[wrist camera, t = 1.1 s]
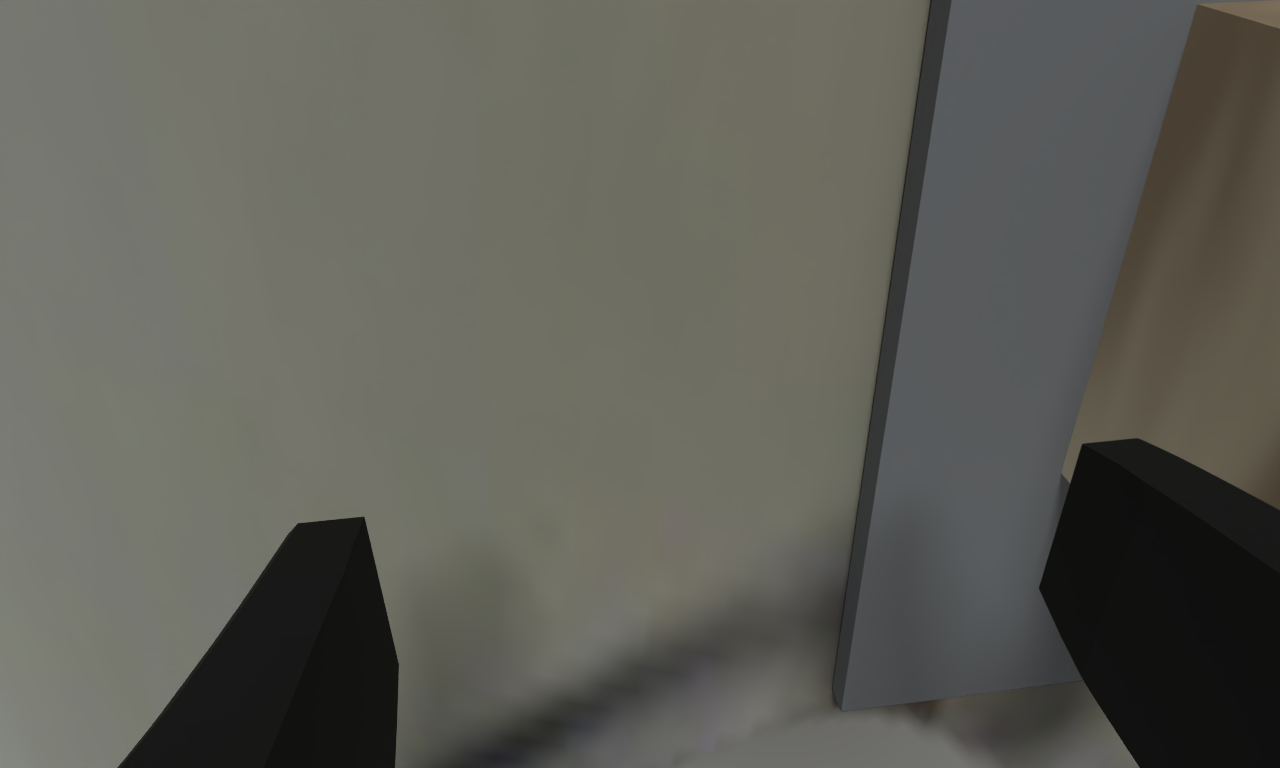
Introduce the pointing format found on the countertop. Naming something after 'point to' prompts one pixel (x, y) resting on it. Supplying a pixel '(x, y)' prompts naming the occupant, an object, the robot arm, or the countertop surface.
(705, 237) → the countertop surface
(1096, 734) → the countertop surface
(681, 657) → the countertop surface
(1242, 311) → the tan flat block
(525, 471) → the countertop surface
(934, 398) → the mat
